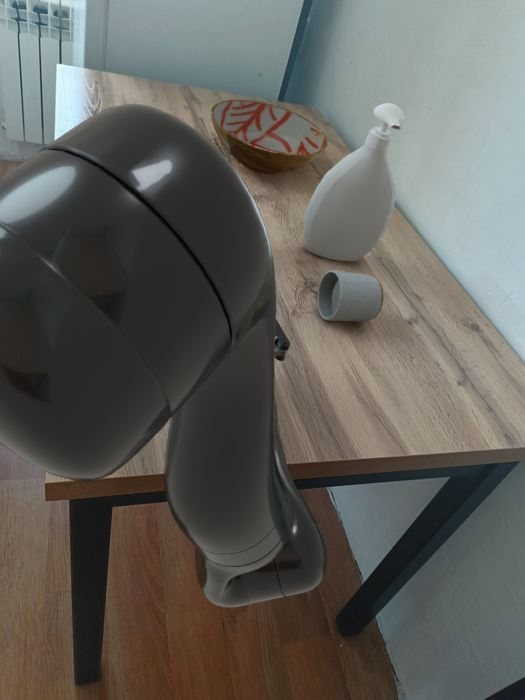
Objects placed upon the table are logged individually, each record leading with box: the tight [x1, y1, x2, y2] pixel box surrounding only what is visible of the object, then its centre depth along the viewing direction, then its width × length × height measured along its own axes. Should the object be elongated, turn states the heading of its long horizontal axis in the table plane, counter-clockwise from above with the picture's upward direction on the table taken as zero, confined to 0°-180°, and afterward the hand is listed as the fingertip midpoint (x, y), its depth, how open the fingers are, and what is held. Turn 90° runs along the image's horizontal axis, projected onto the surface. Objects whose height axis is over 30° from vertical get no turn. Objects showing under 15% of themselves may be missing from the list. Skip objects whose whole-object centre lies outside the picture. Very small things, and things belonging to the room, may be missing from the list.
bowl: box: [210, 99, 328, 175], centre depth 115 cm, size 25×25×8 cm
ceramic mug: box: [316, 269, 385, 322], centre depth 84 cm, size 11×8×8 cm
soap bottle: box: [302, 102, 405, 263], centre depth 88 cm, size 14×8×27 cm, turn 93°
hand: (222, 291), depth 67 cm, fingers closed on container, 4 cm apart
